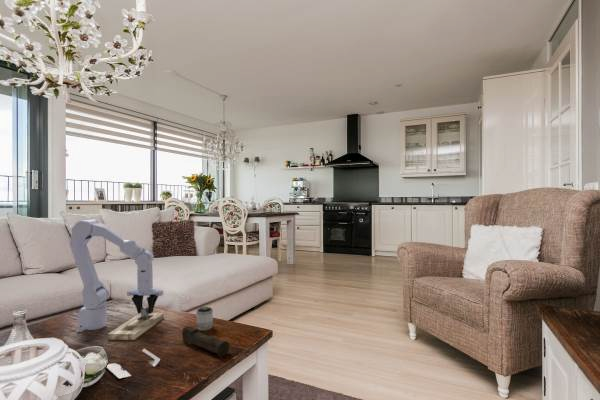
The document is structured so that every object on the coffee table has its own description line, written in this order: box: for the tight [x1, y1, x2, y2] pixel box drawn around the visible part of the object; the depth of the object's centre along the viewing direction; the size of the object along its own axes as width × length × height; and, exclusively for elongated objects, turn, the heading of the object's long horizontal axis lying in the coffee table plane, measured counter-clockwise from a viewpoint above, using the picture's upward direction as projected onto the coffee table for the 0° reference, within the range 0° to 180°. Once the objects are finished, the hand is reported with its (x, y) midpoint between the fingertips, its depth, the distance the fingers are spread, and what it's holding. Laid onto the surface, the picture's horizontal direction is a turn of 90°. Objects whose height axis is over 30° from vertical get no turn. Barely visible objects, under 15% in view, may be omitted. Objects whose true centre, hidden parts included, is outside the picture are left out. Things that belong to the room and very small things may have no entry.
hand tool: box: [181, 325, 230, 358], centre depth 113 cm, size 23×5×6 cm, turn 52°
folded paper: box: [106, 348, 161, 379], centre depth 100 cm, size 12×12×2 cm
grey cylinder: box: [140, 306, 149, 320], centre depth 133 cm, size 3×3×6 cm
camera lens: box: [195, 306, 214, 332], centre depth 130 cm, size 6×6×8 cm
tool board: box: [107, 312, 165, 341], centre depth 128 cm, size 10×22×3 cm, turn 177°
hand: (145, 312), depth 134 cm, fingers open, 4 cm apart
